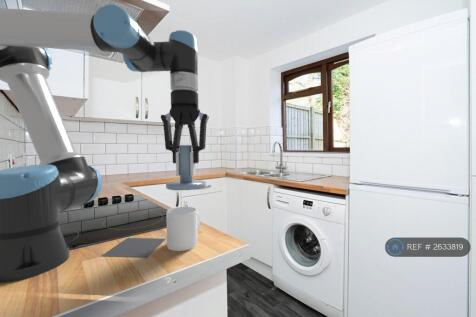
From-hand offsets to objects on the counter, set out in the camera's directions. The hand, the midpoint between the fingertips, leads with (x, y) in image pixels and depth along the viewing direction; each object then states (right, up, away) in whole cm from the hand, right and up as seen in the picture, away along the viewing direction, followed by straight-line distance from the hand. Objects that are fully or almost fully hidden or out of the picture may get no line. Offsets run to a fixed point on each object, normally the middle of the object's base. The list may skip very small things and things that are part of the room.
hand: (186, 174), depth 65 cm
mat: (-13, -20, -2) cm, 24 cm away
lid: (0, -3, 0) cm, 3 cm away
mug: (0, -20, +1) cm, 20 cm away
